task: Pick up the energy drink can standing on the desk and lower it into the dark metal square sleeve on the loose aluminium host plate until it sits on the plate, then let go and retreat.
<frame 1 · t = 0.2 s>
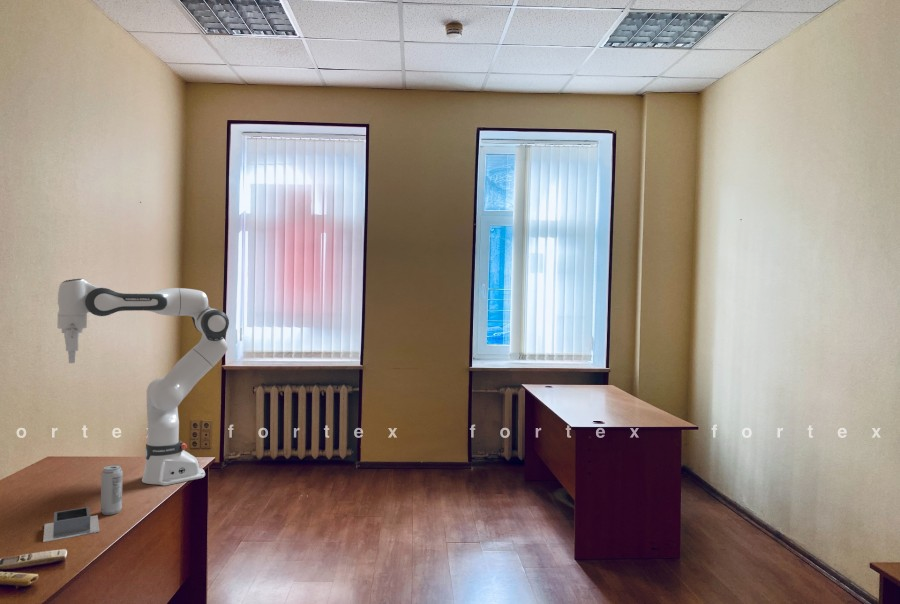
hand: (71, 361, 205), 47 cm above the table, fingers open, 8 cm apart
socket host: (71, 530, 175), on the table
energy drink can: (111, 512, 189), on the table
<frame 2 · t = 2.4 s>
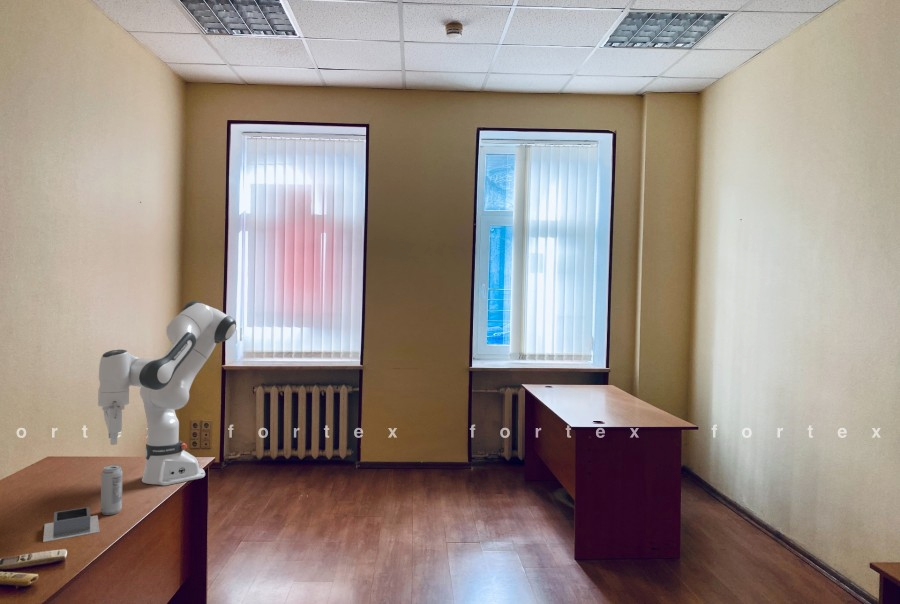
hand: (112, 440, 188), 24 cm above the table, fingers open, 8 cm apart
nothing on the table moved.
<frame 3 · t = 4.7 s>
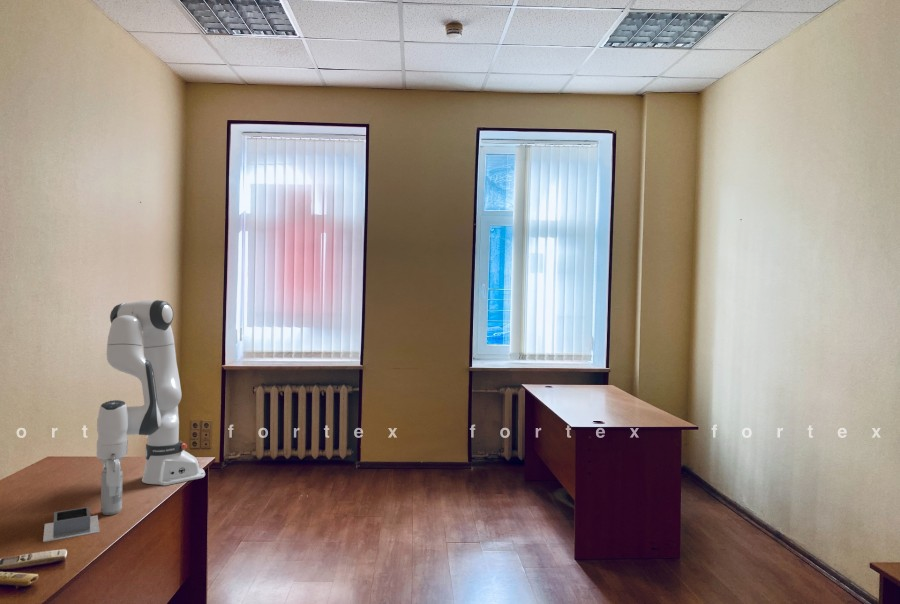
hand: (111, 492, 189), 7 cm above the table, fingers closed on energy drink can, 6 cm apart
energy drink can: (111, 512, 189), on the table, touching gripper
everything else where it was.
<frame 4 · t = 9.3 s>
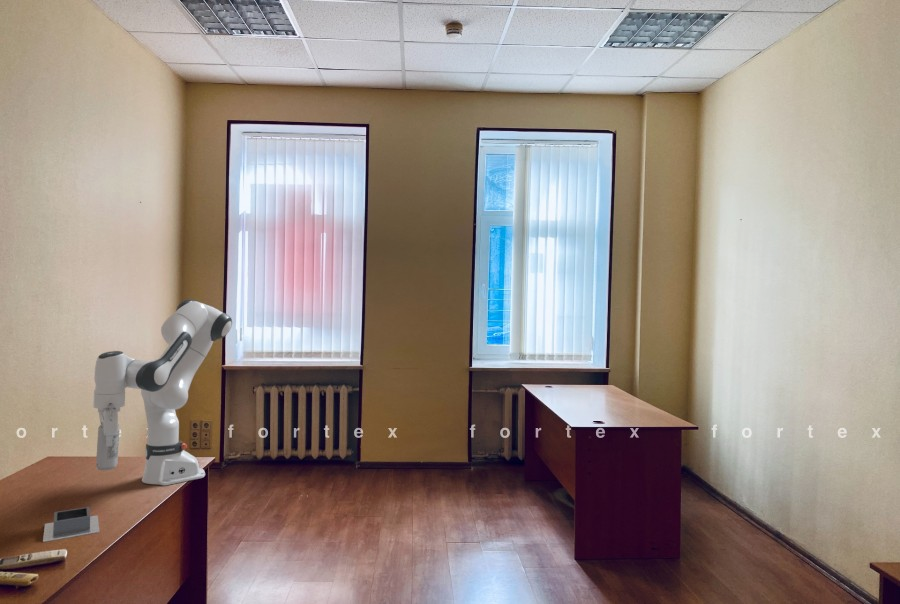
hand: (108, 443, 186), 23 cm above the table, fingers closed on energy drink can, 6 cm apart
energy drink can: (106, 468, 186), point 15 cm above the table, touching gripper
everything else where it was.
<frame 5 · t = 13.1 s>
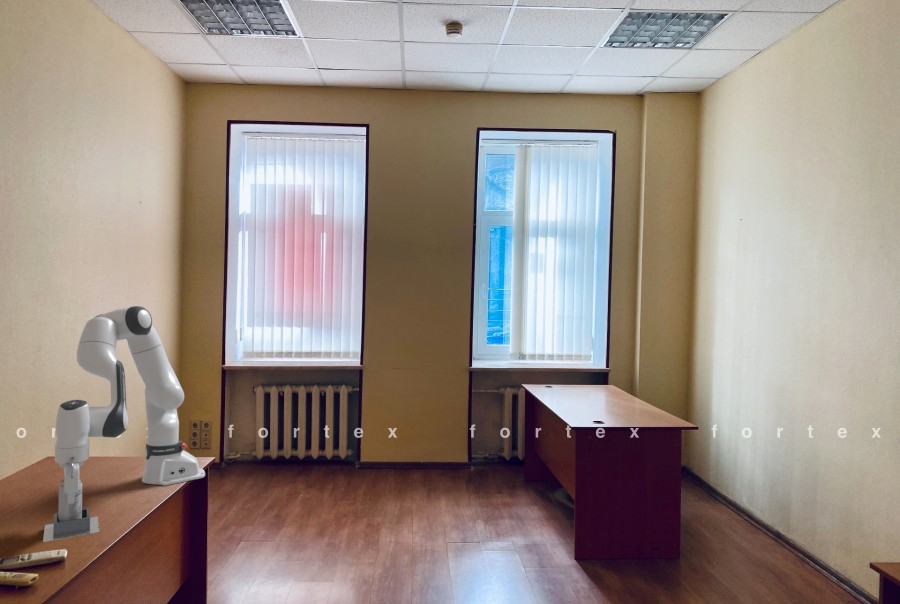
hand: (71, 499, 175), 9 cm above the table, fingers closed on energy drink can, 6 cm apart
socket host: (71, 531, 175), on the table, touching energy drink can
energy drink can: (69, 529, 175), resting on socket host, touching gripper
when the fingers open (8 cm above the table, at t = 13.8 s): energy drink can stays where it is, resting on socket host.
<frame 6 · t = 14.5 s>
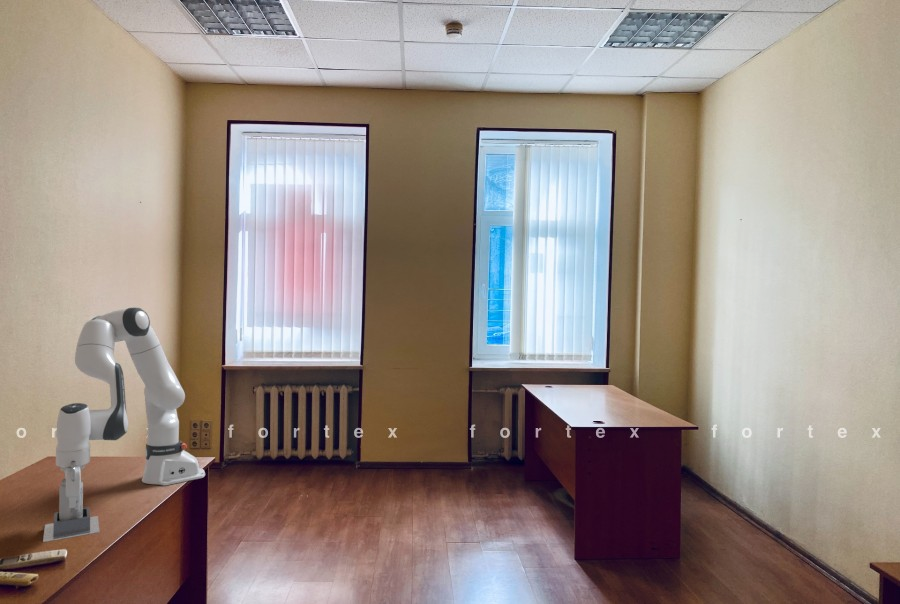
hand: (72, 502, 175), 8 cm above the table, fingers open, 8 cm apart
energy drink can: (70, 528, 175), resting on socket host
everything else where it was.
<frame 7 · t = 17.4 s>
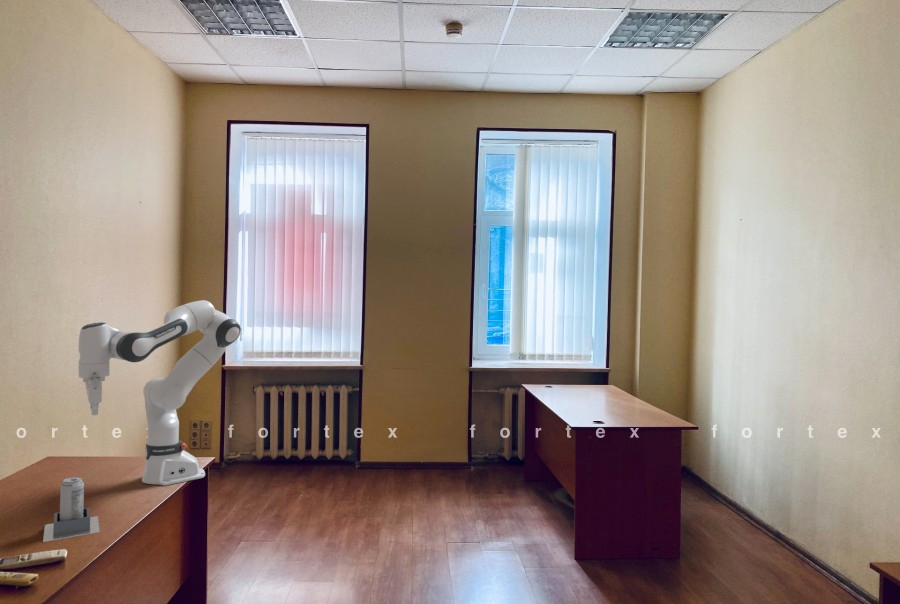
hand: (94, 412, 191), 33 cm above the table, fingers open, 8 cm apart
nothing on the table moved.
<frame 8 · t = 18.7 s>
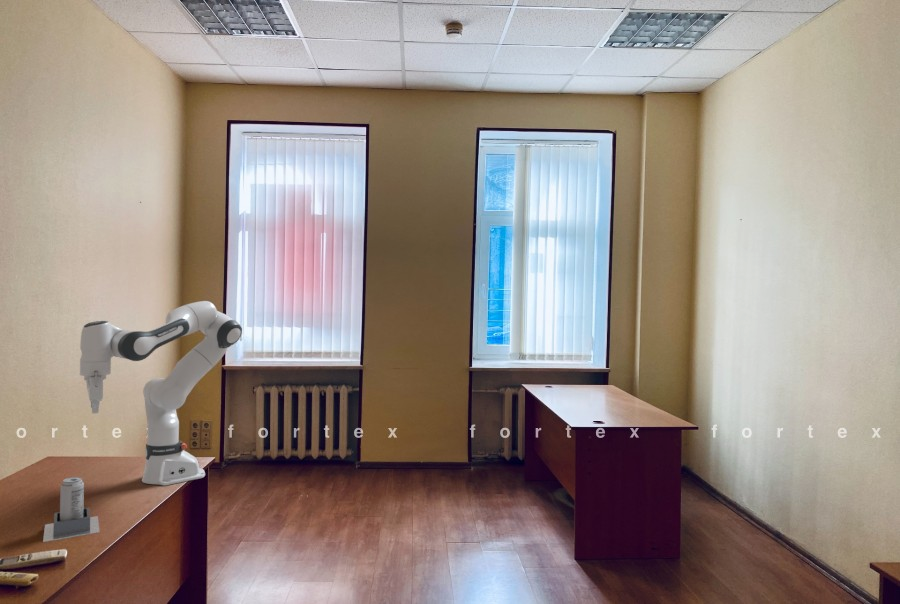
hand: (94, 410, 191), 33 cm above the table, fingers open, 8 cm apart
nothing on the table moved.
at the end: energy drink can 0.1 cm off-centre on the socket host, point 0.8 cm above the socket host's base; energy drink can tilted 0°; the gripper is holding nothing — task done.
